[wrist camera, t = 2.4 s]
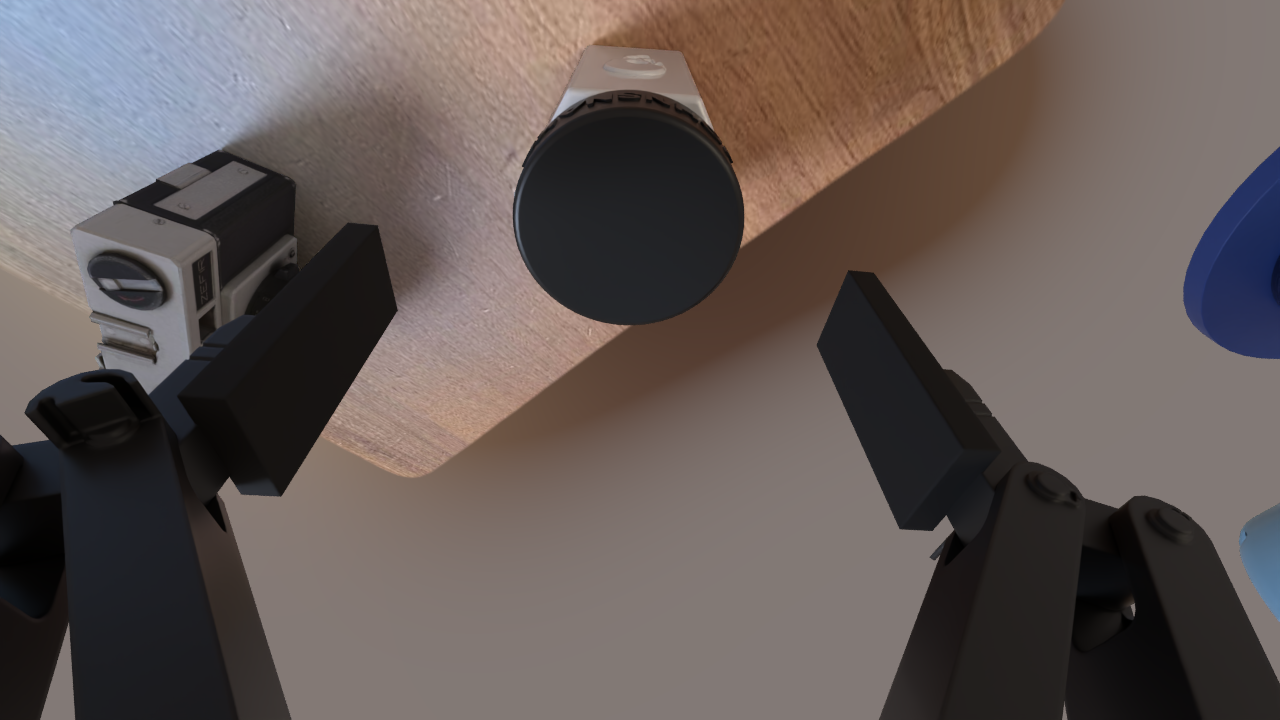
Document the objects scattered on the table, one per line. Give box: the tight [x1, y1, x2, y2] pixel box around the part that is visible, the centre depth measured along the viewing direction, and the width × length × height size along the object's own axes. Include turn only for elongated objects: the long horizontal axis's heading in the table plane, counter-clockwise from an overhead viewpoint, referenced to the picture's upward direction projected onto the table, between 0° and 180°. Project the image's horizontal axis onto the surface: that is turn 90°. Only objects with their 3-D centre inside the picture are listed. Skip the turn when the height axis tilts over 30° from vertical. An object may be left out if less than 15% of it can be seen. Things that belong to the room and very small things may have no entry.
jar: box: [513, 45, 744, 325], centre depth 22 cm, size 9×8×12 cm
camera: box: [71, 150, 299, 395], centre depth 28 cm, size 14×9×10 cm, turn 147°
